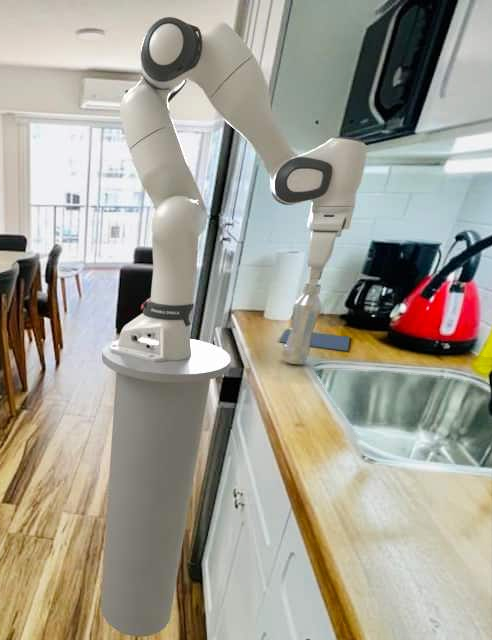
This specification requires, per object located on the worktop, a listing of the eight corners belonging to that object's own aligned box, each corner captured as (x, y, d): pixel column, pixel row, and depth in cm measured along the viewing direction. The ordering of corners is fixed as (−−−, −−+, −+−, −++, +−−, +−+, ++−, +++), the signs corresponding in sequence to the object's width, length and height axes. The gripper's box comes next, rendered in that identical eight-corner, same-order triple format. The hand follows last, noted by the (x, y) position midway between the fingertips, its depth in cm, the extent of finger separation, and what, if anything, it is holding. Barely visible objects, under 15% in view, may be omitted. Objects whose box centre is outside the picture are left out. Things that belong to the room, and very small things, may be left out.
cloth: (279, 342, 144) (280, 341, 144) (287, 330, 156) (287, 329, 156) (347, 351, 136) (347, 350, 136) (349, 338, 149) (349, 337, 148)
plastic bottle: (306, 361, 129) (327, 283, 119) (306, 368, 124) (328, 288, 114) (280, 357, 131) (299, 281, 122) (279, 365, 126) (298, 286, 116)
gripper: (318, 217, 120) (305, 275, 127) (310, 222, 105) (295, 288, 111) (346, 218, 117) (331, 277, 124) (342, 223, 102) (325, 290, 108)
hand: (314, 282), depth 117 cm, fingers open, 8 cm apart
